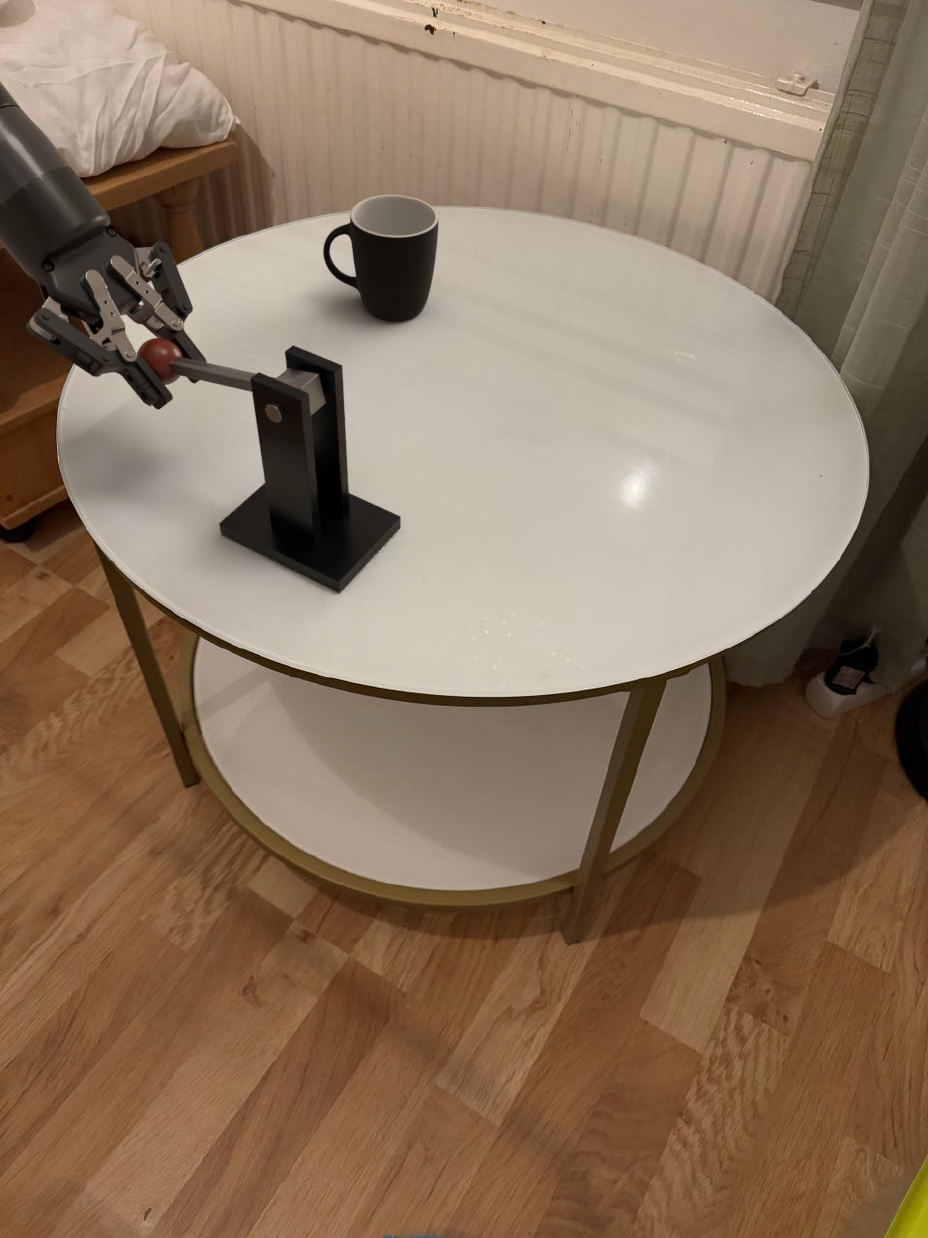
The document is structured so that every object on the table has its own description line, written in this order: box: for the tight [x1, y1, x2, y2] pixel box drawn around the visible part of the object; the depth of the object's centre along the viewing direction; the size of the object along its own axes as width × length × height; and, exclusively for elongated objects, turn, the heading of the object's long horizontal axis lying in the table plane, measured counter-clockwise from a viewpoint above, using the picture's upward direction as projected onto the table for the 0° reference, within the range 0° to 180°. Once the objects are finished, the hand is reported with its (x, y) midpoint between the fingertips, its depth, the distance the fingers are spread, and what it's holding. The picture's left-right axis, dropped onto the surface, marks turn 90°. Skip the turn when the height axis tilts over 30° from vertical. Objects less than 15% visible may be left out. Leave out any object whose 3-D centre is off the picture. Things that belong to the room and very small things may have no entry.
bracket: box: [218, 345, 402, 594], centre depth 70 cm, size 12×9×16 cm
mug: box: [322, 194, 439, 322], centre depth 95 cm, size 12×9×10 cm
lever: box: [136, 337, 326, 415], centre depth 69 cm, size 17×4×4 cm, turn 60°
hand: (183, 390), depth 72 cm, fingers closed on lever, 3 cm apart
